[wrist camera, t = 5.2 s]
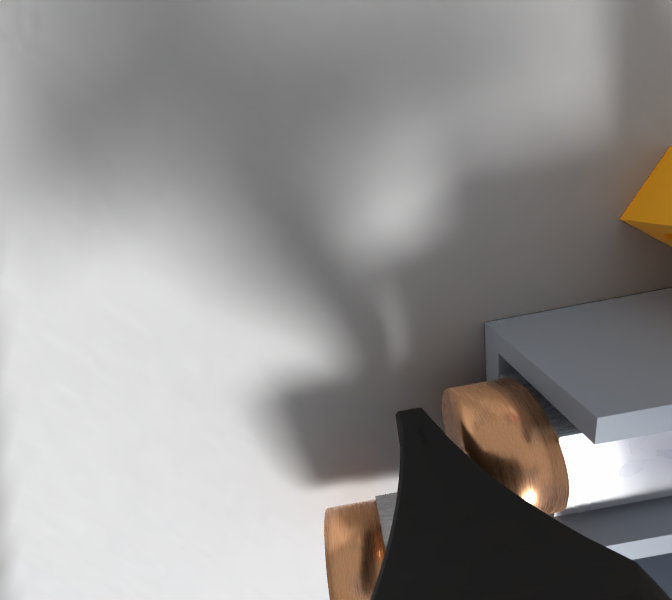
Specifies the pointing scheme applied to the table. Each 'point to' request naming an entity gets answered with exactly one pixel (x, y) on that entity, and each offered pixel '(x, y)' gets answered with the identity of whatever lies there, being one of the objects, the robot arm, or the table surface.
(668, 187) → the pipe clamp
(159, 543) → the table surface
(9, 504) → the table surface
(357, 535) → the knob
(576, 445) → the knob
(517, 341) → the mount
